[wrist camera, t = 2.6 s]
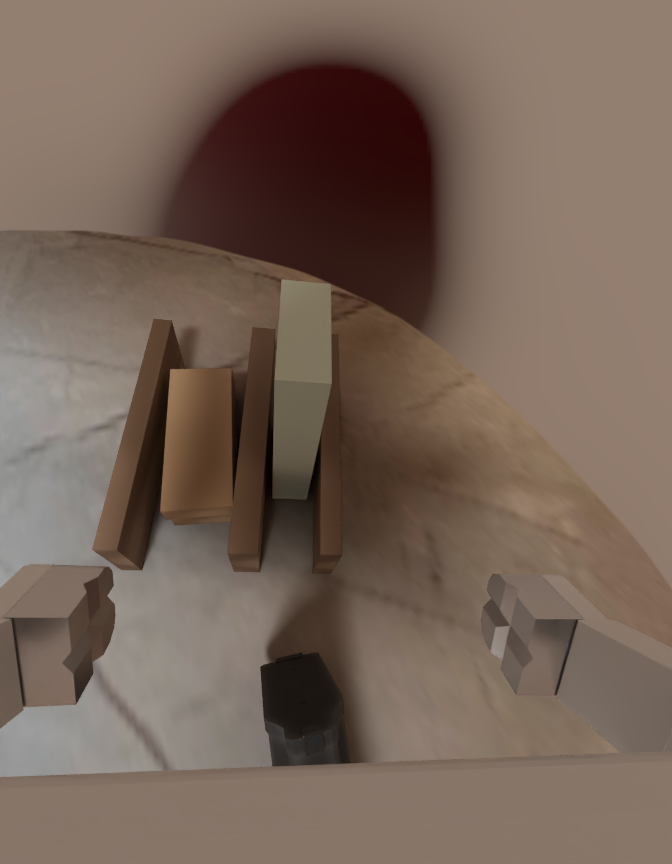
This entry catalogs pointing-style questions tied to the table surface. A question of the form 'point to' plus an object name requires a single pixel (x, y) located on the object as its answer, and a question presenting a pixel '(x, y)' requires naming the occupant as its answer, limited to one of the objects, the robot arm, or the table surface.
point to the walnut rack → (144, 460)
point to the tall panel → (300, 384)
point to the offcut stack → (199, 447)
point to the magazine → (303, 712)
